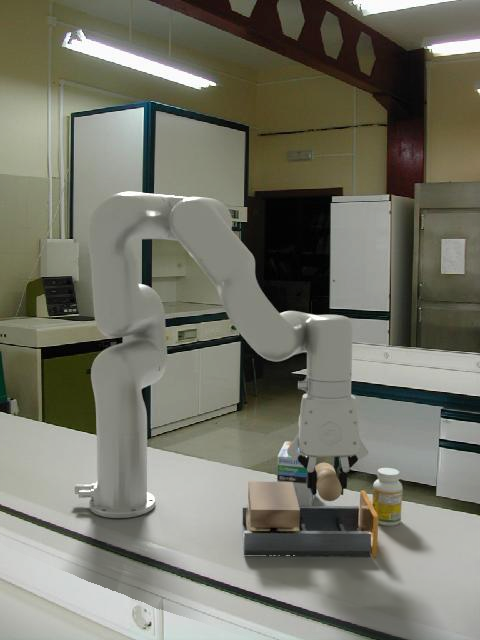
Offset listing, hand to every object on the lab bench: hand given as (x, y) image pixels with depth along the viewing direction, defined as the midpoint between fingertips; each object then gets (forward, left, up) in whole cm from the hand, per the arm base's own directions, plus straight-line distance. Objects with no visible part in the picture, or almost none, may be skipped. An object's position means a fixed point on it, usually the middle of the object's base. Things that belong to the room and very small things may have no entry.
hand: (326, 491), depth 125 cm
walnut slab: (-9, 0, -4) cm, 10 cm away
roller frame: (-3, 0, -9) cm, 10 cm away
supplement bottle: (+13, +9, -9) cm, 18 cm away
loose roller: (0, 0, 0) cm, 0 cm away
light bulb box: (-3, +18, -9) cm, 21 cm away
